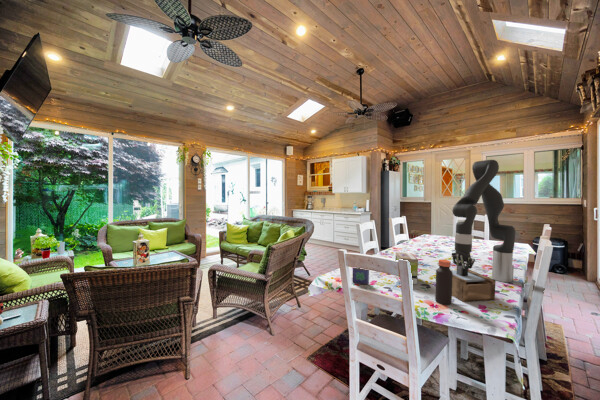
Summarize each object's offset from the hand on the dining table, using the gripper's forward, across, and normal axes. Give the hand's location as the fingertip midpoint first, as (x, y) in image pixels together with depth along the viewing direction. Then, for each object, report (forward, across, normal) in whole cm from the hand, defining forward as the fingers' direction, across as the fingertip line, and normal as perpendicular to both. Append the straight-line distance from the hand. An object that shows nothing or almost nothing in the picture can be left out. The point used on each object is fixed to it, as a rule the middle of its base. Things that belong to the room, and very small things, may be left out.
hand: (462, 274), depth 131 cm
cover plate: (+1, 0, 0) cm, 1 cm away
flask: (+10, +16, +50) cm, 53 cm away
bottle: (+10, -10, +18) cm, 23 cm away
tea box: (+10, +20, +20) cm, 30 cm away
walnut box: (+9, -2, 0) cm, 10 cm away
